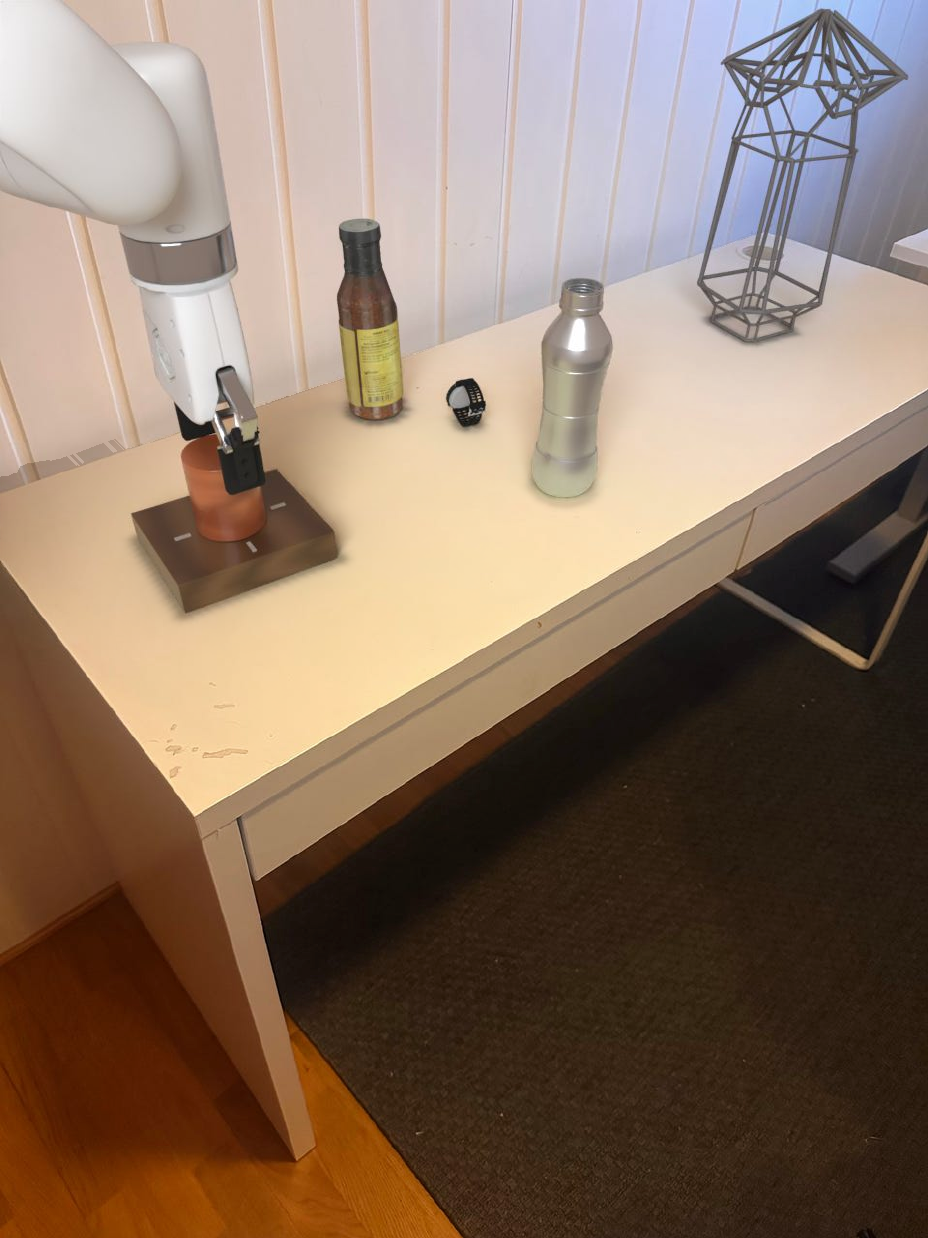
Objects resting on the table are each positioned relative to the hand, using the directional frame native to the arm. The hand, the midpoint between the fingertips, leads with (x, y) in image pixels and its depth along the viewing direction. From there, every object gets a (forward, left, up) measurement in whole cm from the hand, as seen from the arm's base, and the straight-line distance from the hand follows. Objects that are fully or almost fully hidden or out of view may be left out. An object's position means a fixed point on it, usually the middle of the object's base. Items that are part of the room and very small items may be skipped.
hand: (222, 460), depth 74 cm
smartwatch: (+28, +13, -9) cm, 32 cm away
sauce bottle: (+20, +20, -9) cm, 29 cm away
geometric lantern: (+74, +23, -9) cm, 78 cm away
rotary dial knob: (0, 0, -6) cm, 6 cm away
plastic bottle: (+32, -2, -9) cm, 33 cm away
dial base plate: (0, 0, -9) cm, 9 cm away
